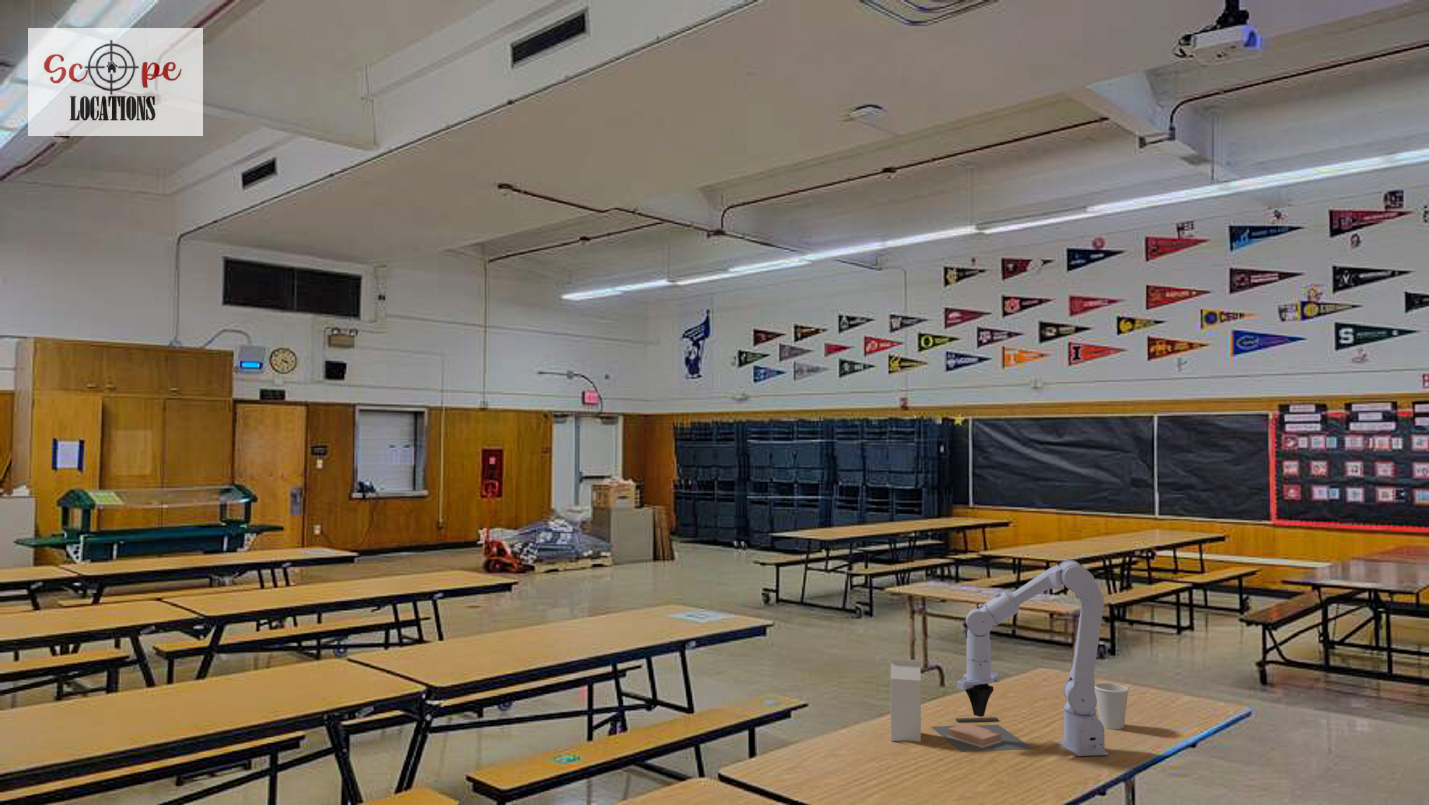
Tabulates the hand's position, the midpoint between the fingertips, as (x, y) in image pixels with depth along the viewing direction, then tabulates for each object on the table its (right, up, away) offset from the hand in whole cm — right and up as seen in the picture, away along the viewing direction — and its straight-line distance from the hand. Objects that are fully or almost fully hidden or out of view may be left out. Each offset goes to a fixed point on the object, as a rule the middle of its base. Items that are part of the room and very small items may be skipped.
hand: (978, 715), depth 220 cm
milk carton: (-18, -6, +1) cm, 19 cm away
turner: (0, -7, +13) cm, 15 cm away
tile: (+1, -5, +1) cm, 5 cm away
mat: (0, -6, 0) cm, 6 cm away
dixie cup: (+38, -7, +12) cm, 41 cm away
